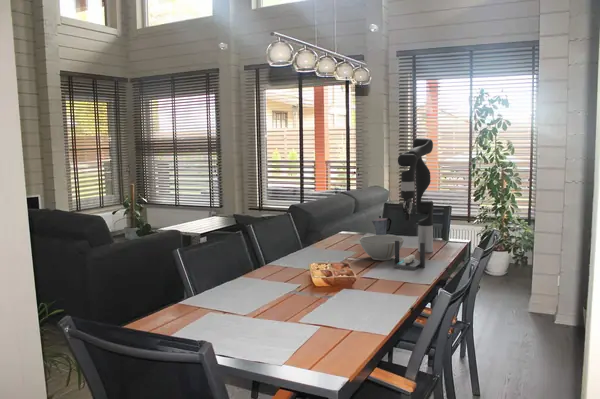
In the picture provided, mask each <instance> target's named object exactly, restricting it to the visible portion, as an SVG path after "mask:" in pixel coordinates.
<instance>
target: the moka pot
mask: <svg viewBox="0 0 600 399" xmlns="http://www.w3.org/2000/svg"><path fill="white" fill-rule="evenodd" d="M388 221H389V223H388ZM392 221H393V220H392V218H390V217H385V218H382V216H381V215H378V218H376V219H375V218H374V219H373V220H372V221H371V222H372V224H373V226H374V230H375V235H388V234H387V232H389V231H390V230H391V226H392ZM387 224H389V225H388V229H387Z"/></svg>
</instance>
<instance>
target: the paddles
mask: <svg viewBox="0 0 600 399" xmlns="http://www.w3.org/2000/svg"><path fill="white" fill-rule="evenodd" d="M403 259H404V262H405V263H410V261H413V260H416V256H415V254H408V255H406V257H403Z"/></svg>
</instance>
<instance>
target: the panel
mask: <svg viewBox="0 0 600 399" xmlns="http://www.w3.org/2000/svg"><path fill="white" fill-rule="evenodd" d="M400 268H401V270H402V269H403V270H408V271H409V270H410V271H416V270H418V269H420V259H415V260H413V261H410V263H405V262H404V258H403V259H401V260H399V262H398V263H396V264H395V263H394V269H400Z"/></svg>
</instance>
